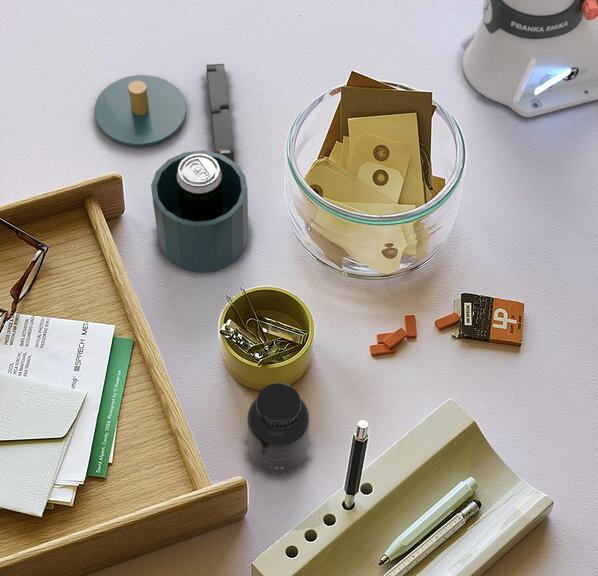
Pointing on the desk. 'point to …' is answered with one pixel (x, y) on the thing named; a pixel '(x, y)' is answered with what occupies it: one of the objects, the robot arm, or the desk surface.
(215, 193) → the beer can
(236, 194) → the tin
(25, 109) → the desk surface
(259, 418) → the supplement bottle
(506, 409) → the desk surface
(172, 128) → the lid
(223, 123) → the grey notched bar
